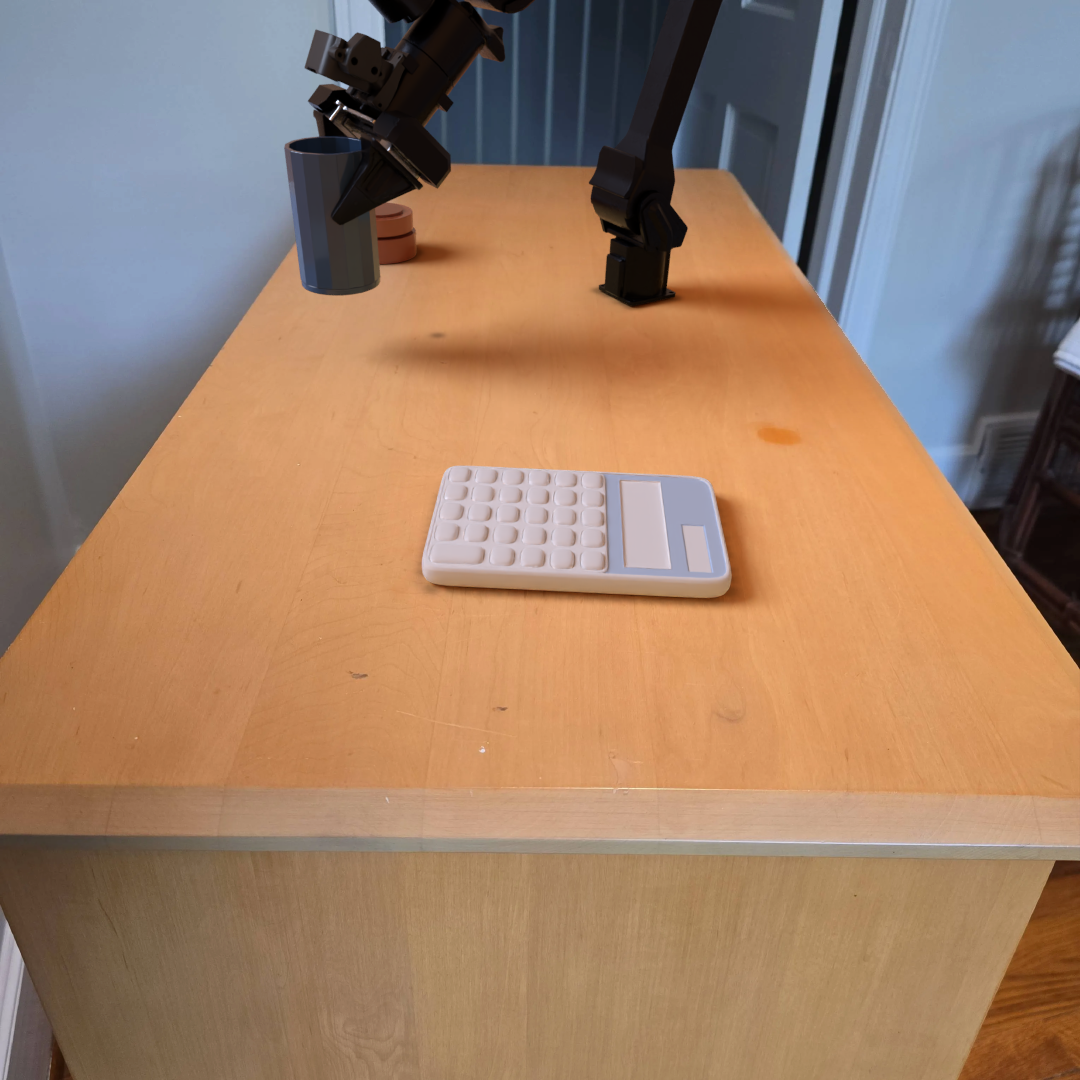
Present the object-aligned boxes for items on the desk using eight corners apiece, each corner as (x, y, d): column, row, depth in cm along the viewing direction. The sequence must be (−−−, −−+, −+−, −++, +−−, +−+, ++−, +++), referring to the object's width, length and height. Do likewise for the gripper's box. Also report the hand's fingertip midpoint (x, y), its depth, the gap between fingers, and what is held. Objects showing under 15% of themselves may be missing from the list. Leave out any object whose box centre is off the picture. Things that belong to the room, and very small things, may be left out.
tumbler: (391, 273, 89) (382, 139, 82) (363, 299, 83) (351, 157, 76) (320, 266, 90) (305, 133, 83) (288, 291, 84) (269, 150, 78)
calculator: (445, 481, 71) (444, 459, 70) (709, 493, 70) (713, 471, 69) (419, 587, 60) (417, 563, 59) (732, 602, 59) (736, 578, 58)
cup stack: (398, 239, 121) (395, 196, 118) (428, 257, 115) (427, 212, 112) (335, 248, 117) (331, 204, 114) (364, 268, 111) (360, 222, 108)
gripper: (318, -19, 82) (213, 127, 83) (409, 0, 69) (283, 173, 70) (405, 75, 90) (308, 207, 91) (501, 108, 77) (387, 261, 78)
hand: (319, 210), depth 82 cm, fingers closed on tumbler, 7 cm apart
